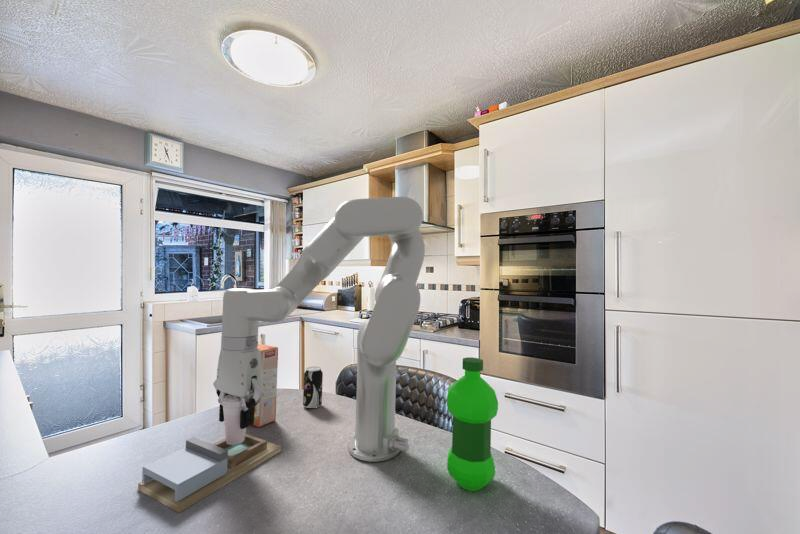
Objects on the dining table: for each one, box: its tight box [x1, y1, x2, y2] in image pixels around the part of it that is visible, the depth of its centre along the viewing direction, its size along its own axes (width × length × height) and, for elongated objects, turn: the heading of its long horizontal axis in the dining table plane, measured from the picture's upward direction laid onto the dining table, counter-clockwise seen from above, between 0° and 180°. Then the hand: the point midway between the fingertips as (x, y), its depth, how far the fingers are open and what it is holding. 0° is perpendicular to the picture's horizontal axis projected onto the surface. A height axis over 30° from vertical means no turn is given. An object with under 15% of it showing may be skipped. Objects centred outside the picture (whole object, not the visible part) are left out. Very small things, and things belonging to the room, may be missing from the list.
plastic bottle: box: [446, 356, 499, 492], centre depth 68 cm, size 10×10×25 cm
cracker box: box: [248, 343, 279, 428], centre depth 96 cm, size 14×6×21 cm, turn 58°
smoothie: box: [220, 393, 250, 445], centre depth 75 cm, size 6×6×14 cm
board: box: [137, 433, 282, 514], centre depth 71 cm, size 13×23×3 cm, turn 153°
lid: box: [141, 436, 228, 502], centre depth 65 cm, size 11×10×4 cm
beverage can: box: [302, 366, 324, 409], centre depth 105 cm, size 6×6×12 cm
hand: (236, 422), depth 75 cm, fingers closed on smoothie, 6 cm apart
